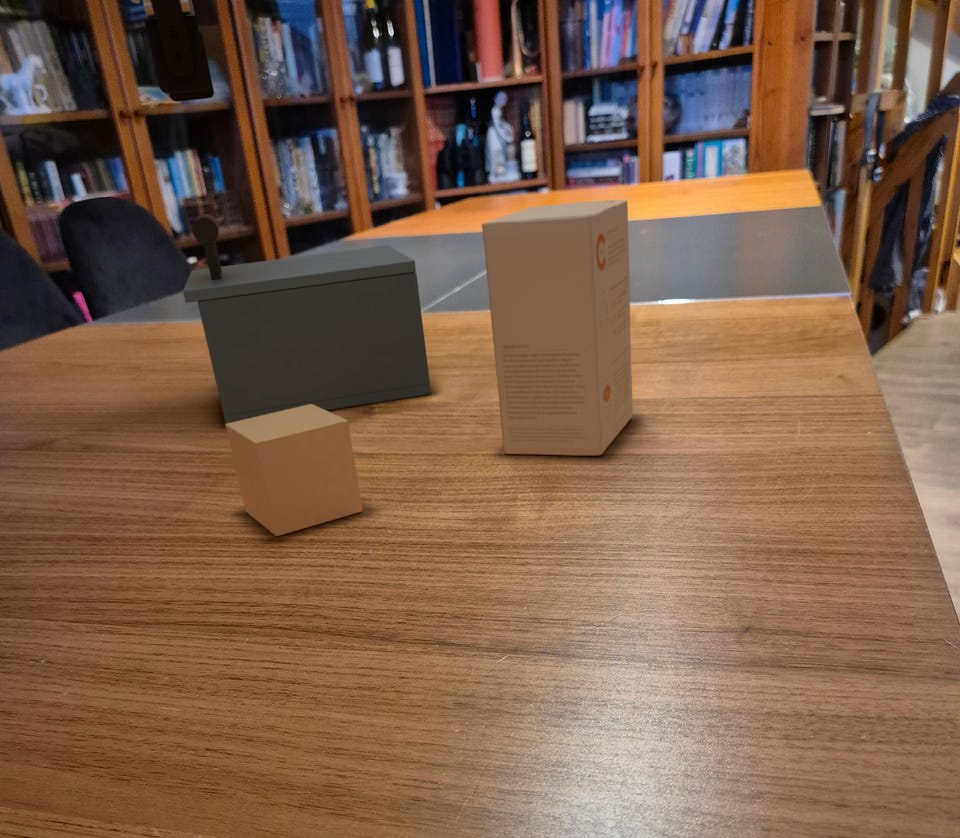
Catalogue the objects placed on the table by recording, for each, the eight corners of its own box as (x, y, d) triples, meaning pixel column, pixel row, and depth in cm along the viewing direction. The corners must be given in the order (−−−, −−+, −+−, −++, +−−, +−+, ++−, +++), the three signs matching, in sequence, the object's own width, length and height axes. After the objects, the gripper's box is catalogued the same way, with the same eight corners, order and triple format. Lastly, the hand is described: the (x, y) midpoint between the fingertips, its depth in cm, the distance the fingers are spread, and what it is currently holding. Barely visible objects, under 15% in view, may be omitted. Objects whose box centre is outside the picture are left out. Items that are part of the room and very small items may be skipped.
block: (276, 537, 48) (255, 442, 46) (245, 511, 52) (224, 423, 49) (363, 511, 50) (348, 419, 48) (327, 489, 54) (311, 403, 51)
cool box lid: (185, 303, 65) (166, 224, 62) (193, 280, 76) (178, 214, 74) (416, 271, 67) (407, 195, 65) (389, 255, 79) (381, 190, 76)
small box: (542, 417, 63) (528, 205, 56) (634, 417, 60) (630, 197, 54) (500, 455, 56) (478, 221, 50) (602, 457, 54) (593, 212, 48)
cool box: (226, 426, 69) (197, 302, 65) (227, 387, 81) (203, 280, 76) (431, 394, 71) (416, 272, 67) (403, 361, 83) (389, 255, 79)
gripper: (77, -181, 63) (146, 107, 71) (25, -286, 48) (120, 94, 56) (188, -188, 64) (244, 97, 73) (172, -293, 49) (244, 81, 58)
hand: (190, 95), depth 64 cm, fingers open, 9 cm apart
